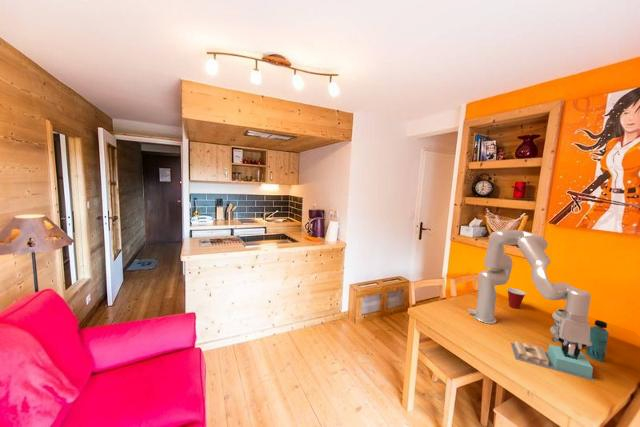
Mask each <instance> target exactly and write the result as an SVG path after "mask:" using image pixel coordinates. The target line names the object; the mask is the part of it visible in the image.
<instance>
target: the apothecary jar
mask: <svg viewBox="0 0 640 427" xmlns="http://www.w3.org/2000/svg"><path fill="white" fill-rule="evenodd" d="M564 310H565V308H557V309H556V311H554V312H553V313H552V315H551V316H552V319H554V323H553V325H552V326H551V327H550V329H549V330H550V333H551V334H552V335H553V334H554V333H555V332H556V331H558V326H559V322H560V320H561V317H562V316H563V314H561V313H560V312H561V311H564ZM559 337H560V336H559ZM551 341H552V342H554V343H556V344H557V343H558V344H561V345H562V343H561V342H560V340H558V339H557V338H555V337H554V336H553V337H552V338H551Z"/></svg>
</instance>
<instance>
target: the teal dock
mask: <svg viewBox="0 0 640 427" xmlns="http://www.w3.org/2000/svg"><path fill="white" fill-rule="evenodd" d="M561 348H562V346H561V347H560V346H558V345H553V344H549V345H548V351H547V352H548V355H549V357H550V359H551V361H552V363H553V365H554V367H555V369H559V370H563V371H566V372H570V373H573V374H577V375H581V376H584V377H588V378H592V376H593V370H594V367H593V366H592V365H591V363H590V362H589V360H588V359H587V357H586V356H585V354H584V353H583V352H582V351H580V354H579V355H578V357H576V356H575V357H574V359H573V358H569V357H565V354H564V352H563V351H562V349H561Z"/></svg>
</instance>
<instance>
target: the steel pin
mask: <svg viewBox="0 0 640 427" xmlns="http://www.w3.org/2000/svg"><path fill="white" fill-rule="evenodd" d="M576 344H577V343H575V342H571V341H568V342H567V346H568V349H567V354H565V357H569V358H573V359H574V357H575V351H576Z"/></svg>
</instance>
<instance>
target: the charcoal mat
mask: <svg viewBox="0 0 640 427" xmlns="http://www.w3.org/2000/svg"><path fill="white" fill-rule="evenodd" d="M510 345H511V348H512V352H513V355H514V358H515V360H517V361H520V362H524V363H528V364H531V365H534V366H535V365H536V366H539V367H542V368H546V369H549V370H553V371H557V372H561V373H565V374H567V375H571V376H574V377H578V378H580V379H581V378H582V379H586V380H589V381H592V382H597V381H596V379H595V378H594V376H593V375H592V378H588V377H584V376H581V375H577V374H573V373H570V372H566V371H563V370H559V369H555V367H554V365H553V363H552V361H551V359H550V357H549V355H548V351H544V352H545V354H546V356H547V358H548V360H549V363H548V366H547V365H543V364H539V363H536V362H532V361H528V360H525V359H521V358H519V357H518V354H517V351H516V348H515V342H514V343H513V342H510Z"/></svg>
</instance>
